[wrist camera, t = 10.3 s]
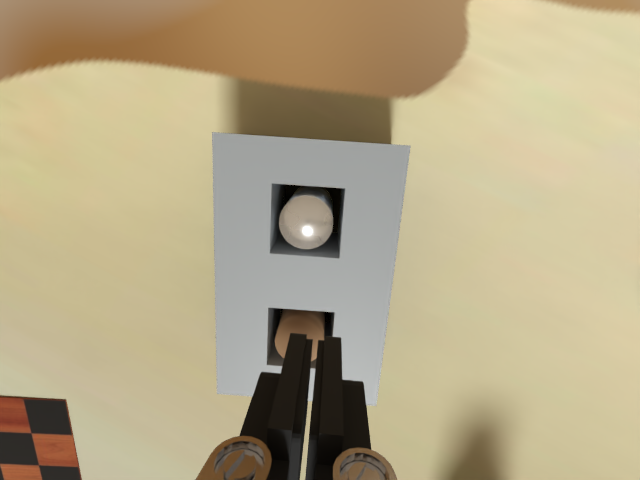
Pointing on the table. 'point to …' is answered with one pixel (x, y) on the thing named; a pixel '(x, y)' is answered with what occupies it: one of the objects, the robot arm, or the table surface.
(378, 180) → the socket board
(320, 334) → the brown rounded cylinder
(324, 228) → the steel peg
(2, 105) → the table surface
